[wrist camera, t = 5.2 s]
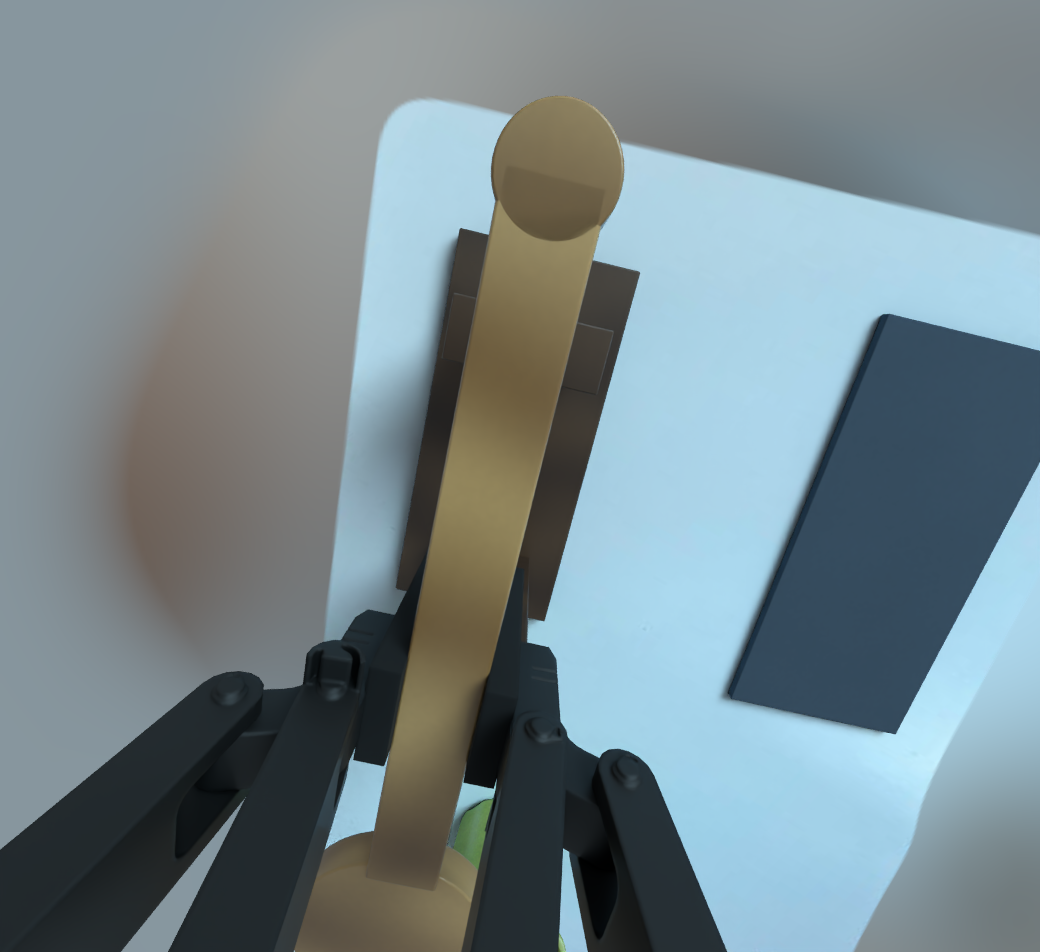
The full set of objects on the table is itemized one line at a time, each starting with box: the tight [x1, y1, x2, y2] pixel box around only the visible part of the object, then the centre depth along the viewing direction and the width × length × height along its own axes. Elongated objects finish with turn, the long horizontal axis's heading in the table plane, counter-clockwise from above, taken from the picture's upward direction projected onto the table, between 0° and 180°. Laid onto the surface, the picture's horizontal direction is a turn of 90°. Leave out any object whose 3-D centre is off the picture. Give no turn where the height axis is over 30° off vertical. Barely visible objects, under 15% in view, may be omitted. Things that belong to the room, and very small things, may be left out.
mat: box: [728, 314, 1040, 734], centre depth 31 cm, size 26×12×1 cm, turn 167°
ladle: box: [294, 96, 624, 952], centre depth 12 cm, size 25×6×1 cm, turn 167°
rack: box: [396, 228, 640, 642], centre depth 25 cm, size 22×10×11 cm, turn 167°
